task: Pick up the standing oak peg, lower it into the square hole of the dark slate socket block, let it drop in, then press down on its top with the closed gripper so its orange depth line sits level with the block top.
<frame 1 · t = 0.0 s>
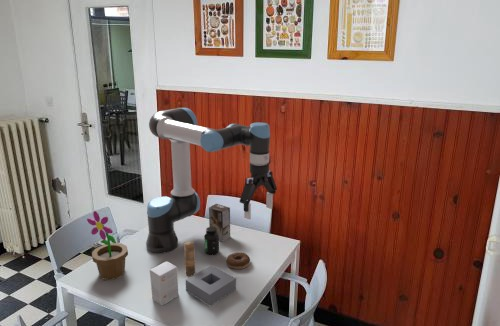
hand: (258, 213, 156), 28 cm above the table, tool pointing down, fingers open, 13 cm apart
supplement bottle: (211, 252, 180), on the table
socket block: (211, 289, 153), on the table
donut: (238, 264, 171), on the table
oak peg: (190, 273, 164), on the table
small box: (165, 297, 148), on the table
flowerpot: (112, 273, 164), on the table
coffee box: (220, 237, 195), on the table
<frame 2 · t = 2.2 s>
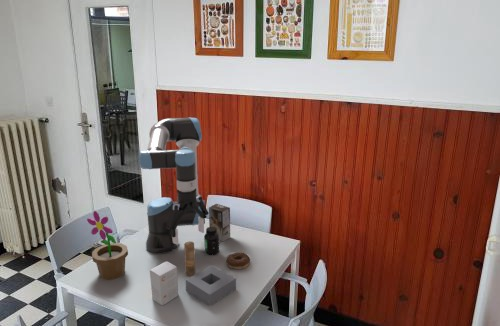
hand: (188, 237, 158), 17 cm above the table, tool pointing down, fingers open, 13 cm apart
nothing on the table moved.
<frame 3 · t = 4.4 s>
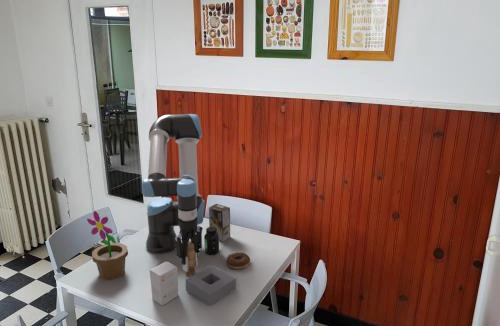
hand: (190, 267, 163), 3 cm above the table, tool pointing down, fingers closed on oak peg, 4 cm apart
oak peg: (190, 273, 164), on the table, touching gripper
everything else where it was.
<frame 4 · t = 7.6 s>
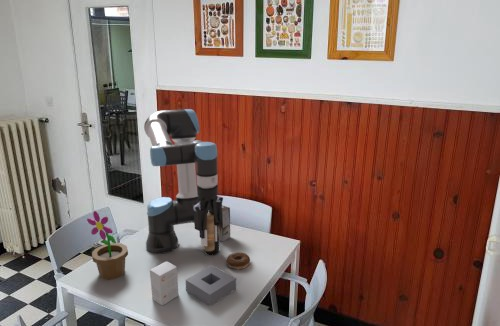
hand: (209, 242, 146), 21 cm above the table, tool pointing down, fingers closed on oak peg, 4 cm apart
oak peg: (209, 248, 147), point 18 cm above the table, touching gripper
everything else where it was.
when the fingers open (7 cm above the table, at t = 10.9 s): oak peg drops 4 cm, resting in socket block.
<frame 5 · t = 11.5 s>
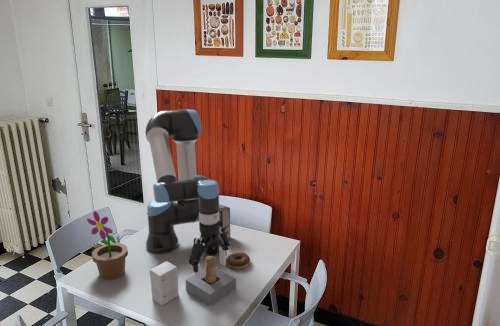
hand: (210, 271, 150), 9 cm above the table, tool pointing down, fingers open, 13 cm apart
oak peg: (211, 289, 153), resting in socket block
everything else where it was.
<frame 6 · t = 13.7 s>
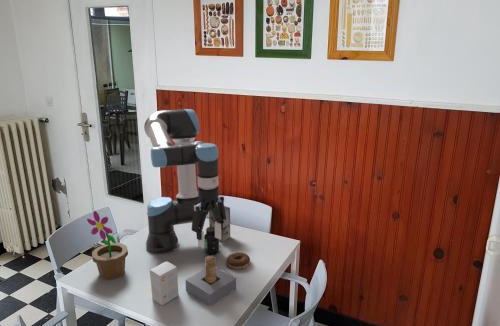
hand: (209, 242, 146), 21 cm above the table, tool pointing down, fingers open, 8 cm apart
nothing on the table moved.
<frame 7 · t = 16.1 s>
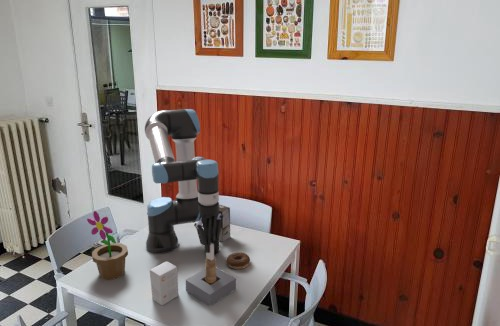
hand: (210, 258, 148), 14 cm above the table, tool pointing down, fingers closed
oak peg: (211, 289, 153), resting in socket block, touching gripper
everything else where it was.
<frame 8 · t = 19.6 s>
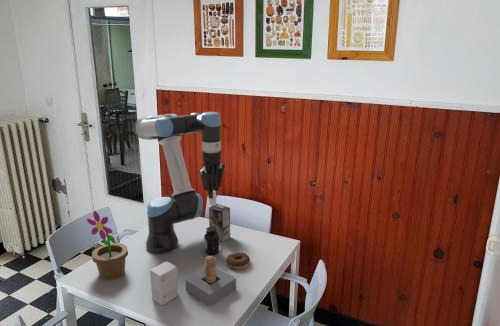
hand: (212, 204, 162), 28 cm above the table, tool pointing down, fingers closed
oak peg: (211, 289, 153), resting in socket block
everything else where it was.
at the end: oak peg 0.0 cm off-centre on the socket block, point 0.0 cm above the socket block's base; oak peg tilted 0°; the gripper is holding nothing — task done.
